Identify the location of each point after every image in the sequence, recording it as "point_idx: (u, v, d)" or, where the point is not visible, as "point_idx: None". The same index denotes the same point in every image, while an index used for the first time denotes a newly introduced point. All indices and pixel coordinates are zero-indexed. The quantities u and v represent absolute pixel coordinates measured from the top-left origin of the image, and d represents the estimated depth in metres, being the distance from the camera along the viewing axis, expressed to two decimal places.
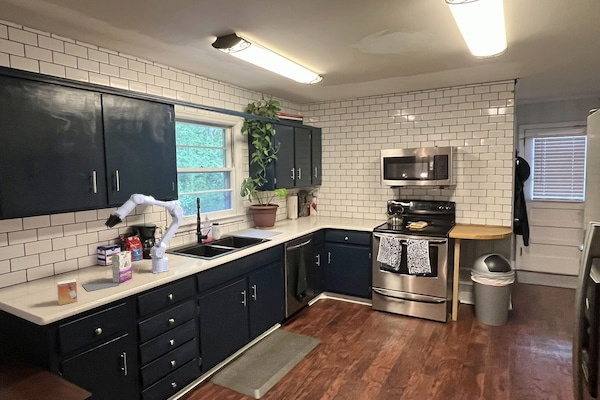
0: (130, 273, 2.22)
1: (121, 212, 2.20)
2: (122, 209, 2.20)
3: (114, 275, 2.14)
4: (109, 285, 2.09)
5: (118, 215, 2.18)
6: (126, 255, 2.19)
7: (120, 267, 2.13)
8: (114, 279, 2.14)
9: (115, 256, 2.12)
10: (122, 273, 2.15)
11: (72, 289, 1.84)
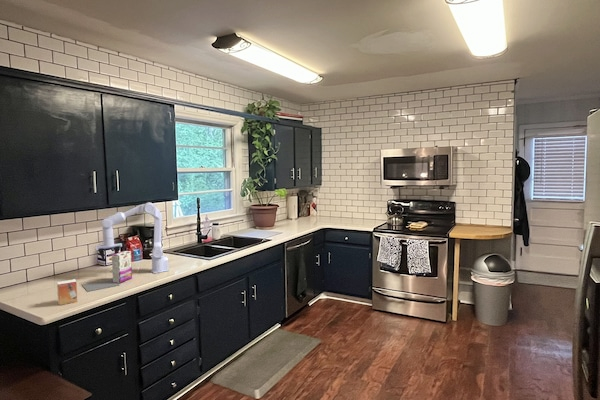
0: (130, 273, 2.22)
1: (103, 243, 2.25)
2: None
3: (114, 275, 2.13)
4: (109, 285, 2.09)
5: None
6: (126, 255, 2.18)
7: (120, 267, 2.13)
8: (114, 279, 2.14)
9: (115, 256, 2.12)
10: (122, 273, 2.15)
11: (72, 289, 1.84)
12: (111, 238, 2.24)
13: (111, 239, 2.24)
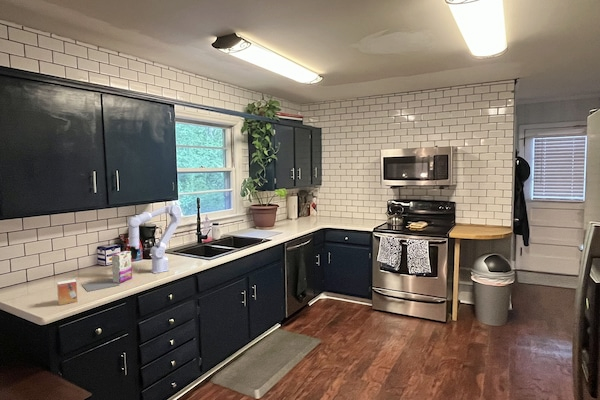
0: (130, 273, 2.22)
1: (133, 242, 2.25)
2: (131, 239, 2.25)
3: (114, 275, 2.13)
4: (109, 285, 2.09)
5: None
6: (126, 255, 2.18)
7: (120, 267, 2.13)
8: (114, 279, 2.14)
9: (115, 256, 2.12)
10: (122, 273, 2.15)
11: (72, 289, 1.84)
12: None
13: None
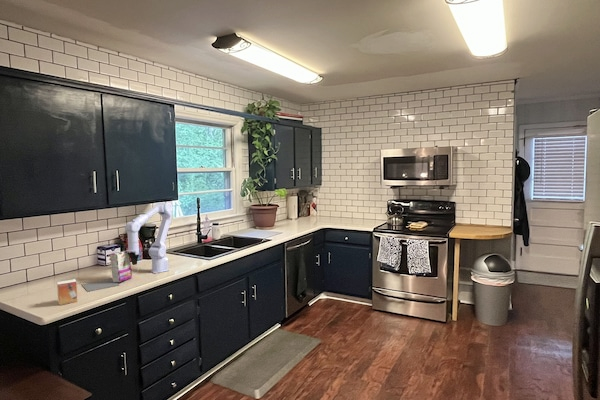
0: (129, 272, 2.22)
1: (133, 248, 2.19)
2: (131, 245, 2.19)
3: (113, 275, 2.14)
4: (109, 285, 2.09)
5: (133, 252, 2.19)
6: (124, 254, 2.19)
7: (119, 266, 2.14)
8: (114, 279, 2.14)
9: (113, 256, 2.13)
10: (122, 272, 2.16)
11: (72, 289, 1.84)
12: None
13: None
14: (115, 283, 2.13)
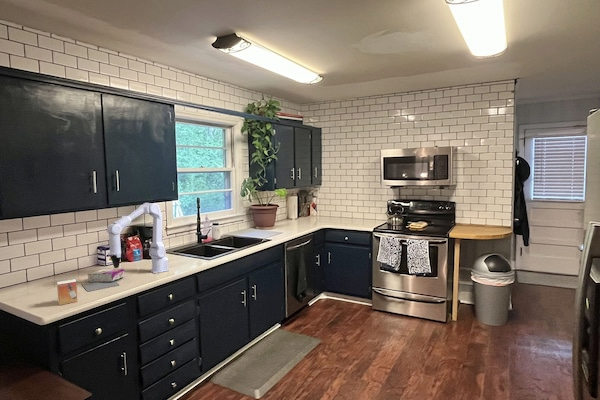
0: (117, 269, 2.23)
1: (114, 250, 2.13)
2: (112, 248, 2.13)
3: (105, 279, 2.15)
4: (109, 285, 2.09)
5: (115, 255, 2.13)
6: (98, 270, 2.23)
7: (99, 273, 2.17)
8: (109, 279, 2.14)
9: (89, 277, 2.17)
10: (107, 272, 2.17)
11: (72, 289, 1.84)
12: None
13: None
14: (115, 283, 2.13)
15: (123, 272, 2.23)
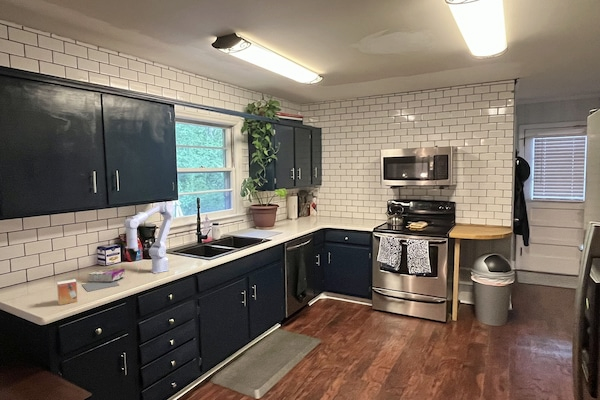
0: (117, 269, 2.23)
1: (132, 244, 2.20)
2: (130, 241, 2.19)
3: (105, 279, 2.15)
4: (109, 285, 2.09)
5: (132, 248, 2.20)
6: (98, 270, 2.23)
7: (99, 273, 2.17)
8: (109, 279, 2.14)
9: (89, 277, 2.17)
10: (107, 272, 2.17)
11: (72, 289, 1.84)
12: None
13: None
14: (115, 283, 2.13)
15: (123, 272, 2.23)
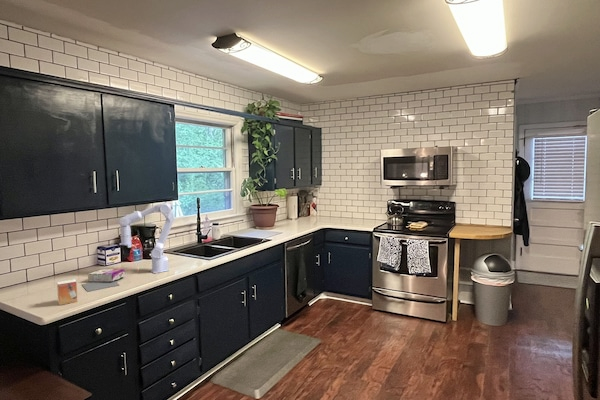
0: (117, 269, 2.23)
1: (125, 241, 2.30)
2: (124, 238, 2.29)
3: (105, 279, 2.15)
4: (109, 285, 2.09)
5: (126, 245, 2.30)
6: (98, 270, 2.23)
7: (99, 273, 2.17)
8: (109, 279, 2.14)
9: (89, 277, 2.17)
10: (107, 272, 2.17)
11: (72, 289, 1.84)
12: None
13: None
14: (115, 283, 2.13)
15: (123, 272, 2.23)
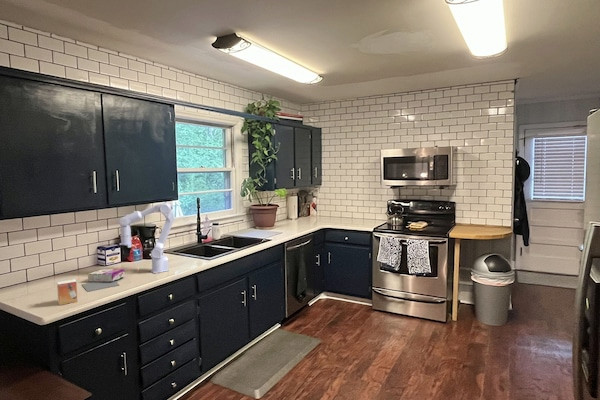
0: (117, 269, 2.23)
1: (125, 241, 2.30)
2: (124, 238, 2.29)
3: (105, 279, 2.15)
4: (109, 285, 2.09)
5: (126, 245, 2.30)
6: (98, 270, 2.23)
7: (99, 273, 2.17)
8: (109, 279, 2.14)
9: (89, 277, 2.17)
10: (107, 272, 2.17)
11: (72, 289, 1.84)
12: None
13: None
14: (115, 283, 2.13)
15: (123, 272, 2.23)
